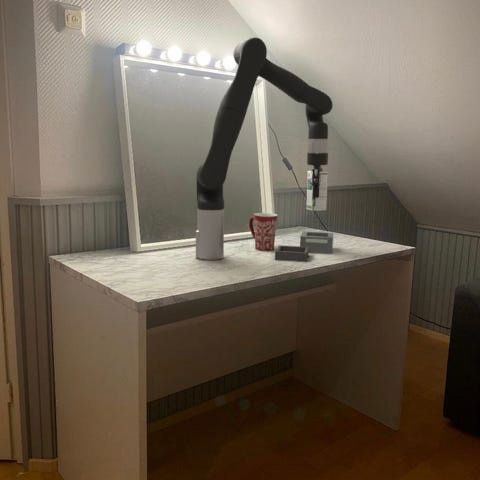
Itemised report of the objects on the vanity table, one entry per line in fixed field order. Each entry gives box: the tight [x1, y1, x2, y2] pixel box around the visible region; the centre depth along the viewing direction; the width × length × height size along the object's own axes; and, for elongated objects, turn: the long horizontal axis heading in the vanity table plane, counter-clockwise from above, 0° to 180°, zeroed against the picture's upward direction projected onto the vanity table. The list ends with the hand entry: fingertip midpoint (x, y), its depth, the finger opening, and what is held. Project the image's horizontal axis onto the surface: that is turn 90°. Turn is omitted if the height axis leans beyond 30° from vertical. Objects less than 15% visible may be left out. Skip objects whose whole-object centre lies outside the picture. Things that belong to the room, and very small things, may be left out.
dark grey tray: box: [274, 245, 309, 263], centre depth 176 cm, size 11×11×3 cm
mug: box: [248, 212, 279, 252], centre depth 190 cm, size 13×9×14 cm
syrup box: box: [305, 170, 329, 212], centre depth 183 cm, size 6×6×14 cm
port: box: [299, 230, 334, 255], centre depth 189 cm, size 12×12×6 cm
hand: (316, 196), depth 183 cm, fingers closed on syrup box, 8 cm apart
